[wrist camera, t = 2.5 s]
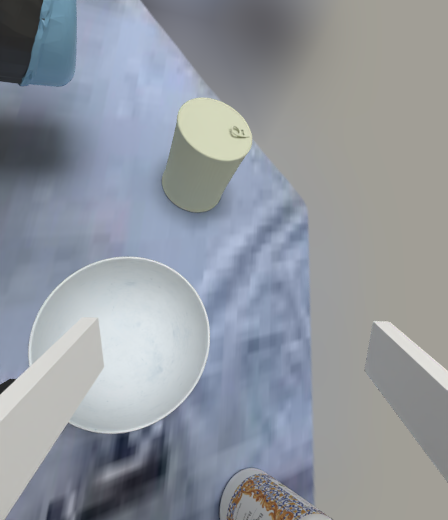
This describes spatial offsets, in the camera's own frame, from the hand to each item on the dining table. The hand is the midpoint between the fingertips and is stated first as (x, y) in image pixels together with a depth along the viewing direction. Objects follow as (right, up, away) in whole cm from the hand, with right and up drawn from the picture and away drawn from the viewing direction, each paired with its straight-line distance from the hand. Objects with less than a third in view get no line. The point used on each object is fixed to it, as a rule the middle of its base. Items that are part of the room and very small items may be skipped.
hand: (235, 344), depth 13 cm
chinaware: (-12, -5, +18) cm, 22 cm away
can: (-5, +15, +29) cm, 33 cm away
